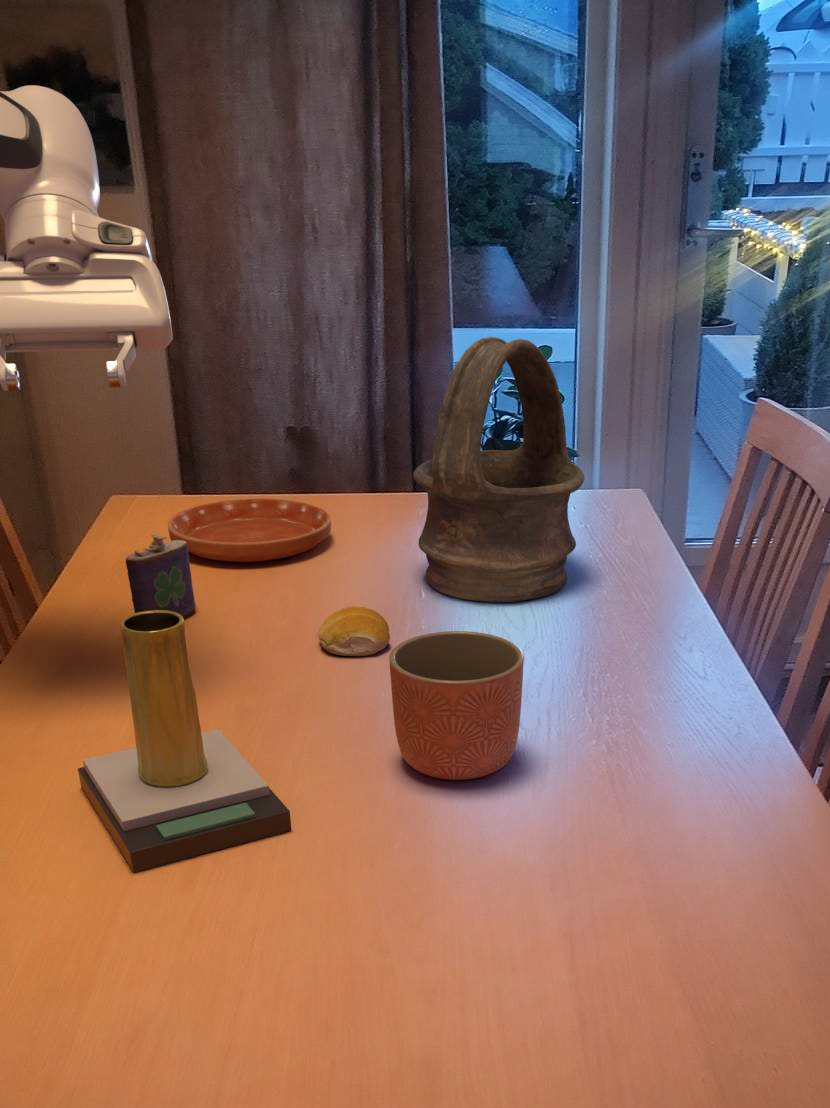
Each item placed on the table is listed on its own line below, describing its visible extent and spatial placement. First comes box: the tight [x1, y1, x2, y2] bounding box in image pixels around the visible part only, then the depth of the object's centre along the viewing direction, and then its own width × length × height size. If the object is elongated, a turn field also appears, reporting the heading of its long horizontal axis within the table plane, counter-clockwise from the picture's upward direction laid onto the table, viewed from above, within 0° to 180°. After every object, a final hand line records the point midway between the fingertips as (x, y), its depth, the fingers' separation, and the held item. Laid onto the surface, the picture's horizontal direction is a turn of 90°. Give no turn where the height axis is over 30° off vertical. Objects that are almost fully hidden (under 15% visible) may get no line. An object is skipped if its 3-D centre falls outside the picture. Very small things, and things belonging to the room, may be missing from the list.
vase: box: [120, 610, 208, 787], centre depth 106 cm, size 6×6×14 cm
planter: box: [388, 630, 525, 781], centre depth 116 cm, size 12×12×11 cm
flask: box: [125, 533, 197, 620], centre depth 147 cm, size 9×3×11 cm, turn 147°
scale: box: [77, 729, 292, 873], centre depth 110 cm, size 14×17×3 cm
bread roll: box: [317, 606, 391, 657], centre depth 143 cm, size 8×9×4 cm
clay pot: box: [413, 336, 586, 603], centre depth 156 cm, size 22×23×30 cm
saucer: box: [167, 498, 332, 563], centre depth 175 cm, size 23×23×4 cm
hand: (63, 385), depth 112 cm, fingers open, 8 cm apart
